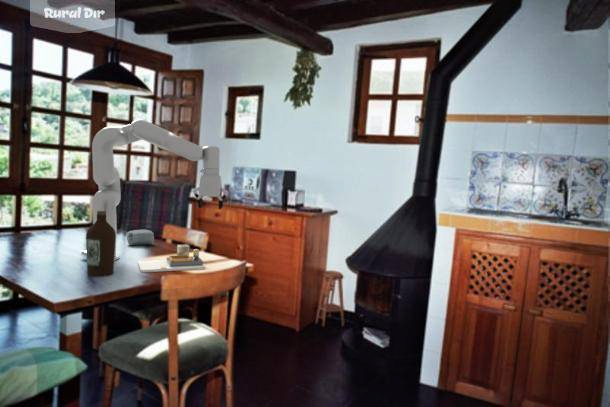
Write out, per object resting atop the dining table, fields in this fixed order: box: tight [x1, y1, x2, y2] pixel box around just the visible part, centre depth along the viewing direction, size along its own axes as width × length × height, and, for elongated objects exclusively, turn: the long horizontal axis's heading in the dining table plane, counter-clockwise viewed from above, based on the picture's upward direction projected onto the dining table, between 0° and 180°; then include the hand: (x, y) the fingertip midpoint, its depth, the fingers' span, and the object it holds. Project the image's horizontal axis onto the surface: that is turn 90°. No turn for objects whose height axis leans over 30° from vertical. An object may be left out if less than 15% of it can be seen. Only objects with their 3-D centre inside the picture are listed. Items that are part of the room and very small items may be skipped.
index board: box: [136, 259, 205, 273], centre depth 186 cm, size 26×16×1 cm, turn 116°
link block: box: [176, 244, 190, 256], centre depth 203 cm, size 5×5×6 cm
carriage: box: [166, 248, 204, 266], centre depth 189 cm, size 14×10×6 cm
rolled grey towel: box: [126, 229, 155, 246], centre depth 227 cm, size 14×10×10 cm
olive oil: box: [85, 211, 117, 277], centre depth 167 cm, size 11×11×25 cm
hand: (210, 208), depth 201 cm, fingers open, 9 cm apart
